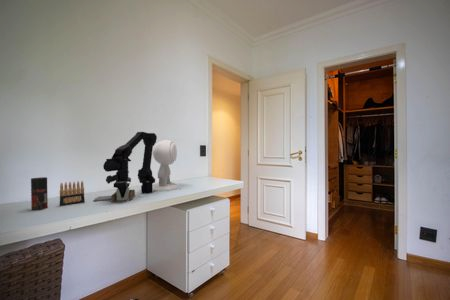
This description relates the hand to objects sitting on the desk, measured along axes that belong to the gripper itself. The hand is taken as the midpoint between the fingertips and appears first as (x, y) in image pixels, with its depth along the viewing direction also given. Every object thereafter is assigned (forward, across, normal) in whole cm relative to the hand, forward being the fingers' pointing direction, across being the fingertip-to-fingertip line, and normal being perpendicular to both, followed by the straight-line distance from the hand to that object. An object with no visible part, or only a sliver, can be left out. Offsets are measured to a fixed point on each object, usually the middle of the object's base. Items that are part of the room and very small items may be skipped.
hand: (123, 197), depth 121 cm
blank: (+1, 0, 0) cm, 1 cm away
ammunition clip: (+2, +3, -24) cm, 24 cm away
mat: (+1, -4, -10) cm, 11 cm away
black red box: (+2, +8, -36) cm, 37 cm away
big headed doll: (+2, -28, +23) cm, 36 cm away
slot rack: (+1, -2, 0) cm, 2 cm away
